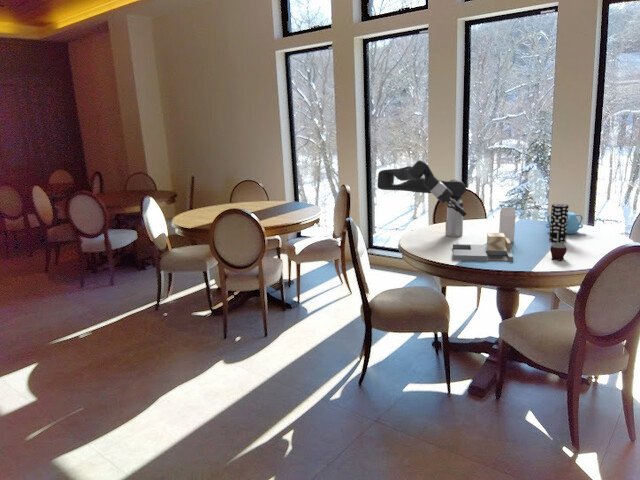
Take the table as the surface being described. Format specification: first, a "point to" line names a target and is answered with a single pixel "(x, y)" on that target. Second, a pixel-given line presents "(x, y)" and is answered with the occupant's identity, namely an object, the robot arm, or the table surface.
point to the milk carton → (507, 222)
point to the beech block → (495, 241)
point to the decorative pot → (570, 222)
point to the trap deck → (482, 252)
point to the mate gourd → (558, 250)
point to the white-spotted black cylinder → (558, 222)
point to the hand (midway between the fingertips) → (465, 215)
